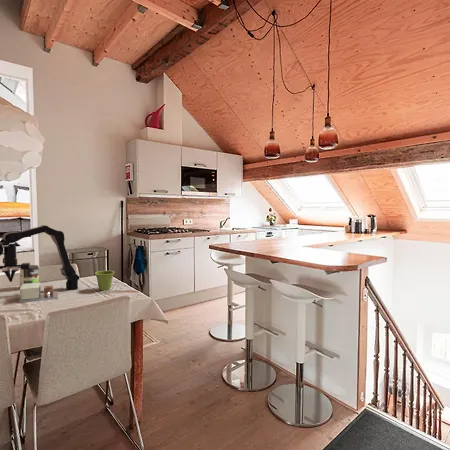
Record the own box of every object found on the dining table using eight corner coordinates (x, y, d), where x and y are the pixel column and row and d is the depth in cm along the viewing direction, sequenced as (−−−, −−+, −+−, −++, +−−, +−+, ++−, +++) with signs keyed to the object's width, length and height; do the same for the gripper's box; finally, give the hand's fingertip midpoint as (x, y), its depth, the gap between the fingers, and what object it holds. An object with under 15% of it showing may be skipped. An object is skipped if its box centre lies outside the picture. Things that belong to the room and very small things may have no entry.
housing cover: (40, 292, 186) (40, 282, 186) (38, 297, 175) (38, 287, 175) (23, 293, 182) (22, 283, 182) (20, 299, 171) (19, 289, 171)
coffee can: (42, 286, 205) (42, 265, 204) (30, 290, 195) (29, 268, 194) (29, 285, 207) (29, 264, 206) (16, 289, 197) (16, 267, 196)
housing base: (58, 292, 191) (58, 287, 191) (57, 298, 179) (57, 292, 179) (22, 296, 182) (22, 290, 182) (19, 302, 171) (19, 296, 170)
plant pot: (98, 293, 192) (98, 275, 191) (92, 288, 201) (92, 272, 200) (117, 289, 200) (117, 272, 199) (110, 286, 209) (110, 269, 208)
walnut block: (53, 293, 186) (53, 285, 186) (52, 295, 182) (52, 287, 182) (44, 294, 184) (44, 286, 183) (44, 296, 180) (43, 288, 179)
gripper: (31, 251, 184) (31, 277, 185) (-8, 253, 176) (-7, 280, 177) (28, 254, 174) (29, 281, 175) (-12, 256, 166) (-11, 284, 167)
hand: (10, 281), depth 174 cm, fingers closed
